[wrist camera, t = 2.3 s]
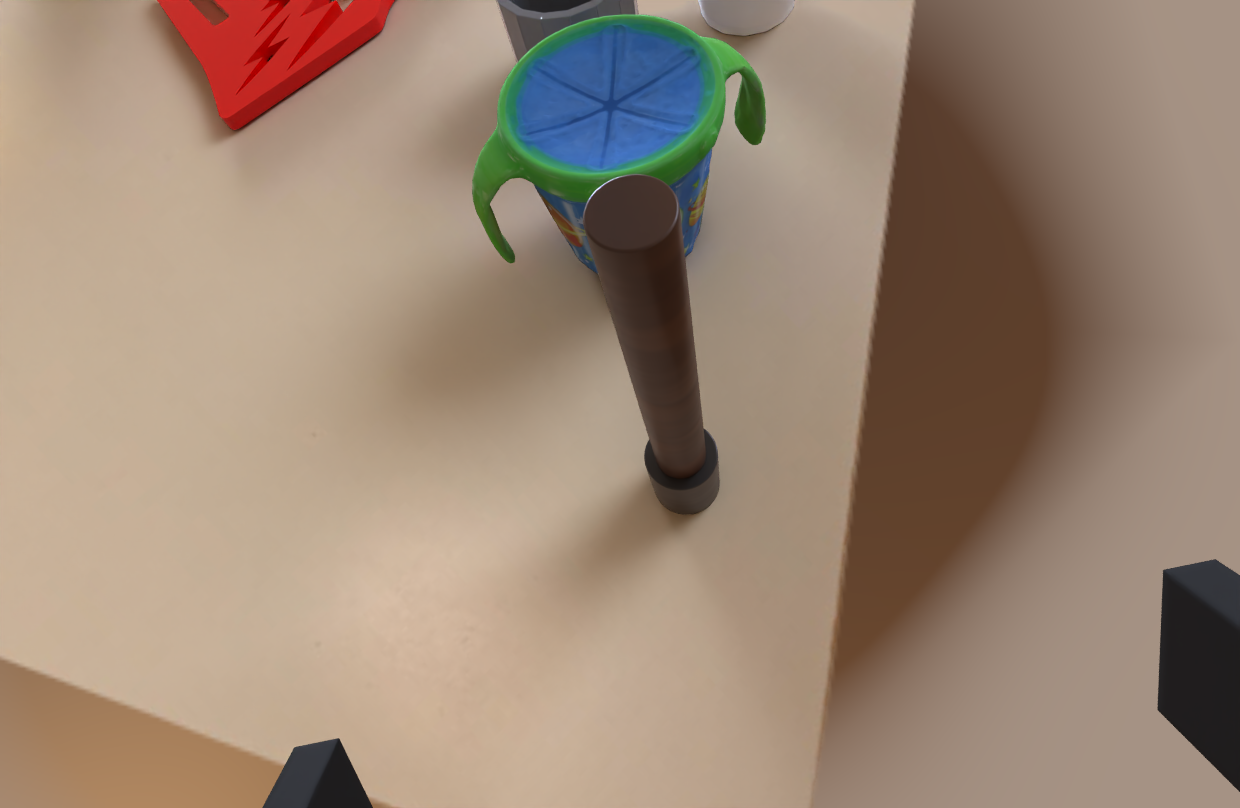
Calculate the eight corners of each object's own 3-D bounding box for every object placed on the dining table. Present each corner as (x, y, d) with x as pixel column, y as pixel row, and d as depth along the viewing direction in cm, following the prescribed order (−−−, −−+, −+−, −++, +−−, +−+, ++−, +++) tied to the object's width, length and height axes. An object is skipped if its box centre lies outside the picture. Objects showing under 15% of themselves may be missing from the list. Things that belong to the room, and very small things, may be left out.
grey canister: (646, 23, 47) (632, -83, 41) (642, 110, 44) (627, 9, 37) (531, 36, 48) (500, -66, 42) (519, 122, 45) (484, 26, 39)
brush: (719, 451, 34) (701, 150, 16) (720, 514, 32) (702, 266, 14) (654, 452, 34) (565, 161, 16) (653, 514, 33) (554, 274, 15)
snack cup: (725, 125, 42) (722, -38, 33) (800, 251, 38) (821, 103, 28) (489, 216, 42) (421, 78, 33) (537, 353, 38) (473, 238, 28)
